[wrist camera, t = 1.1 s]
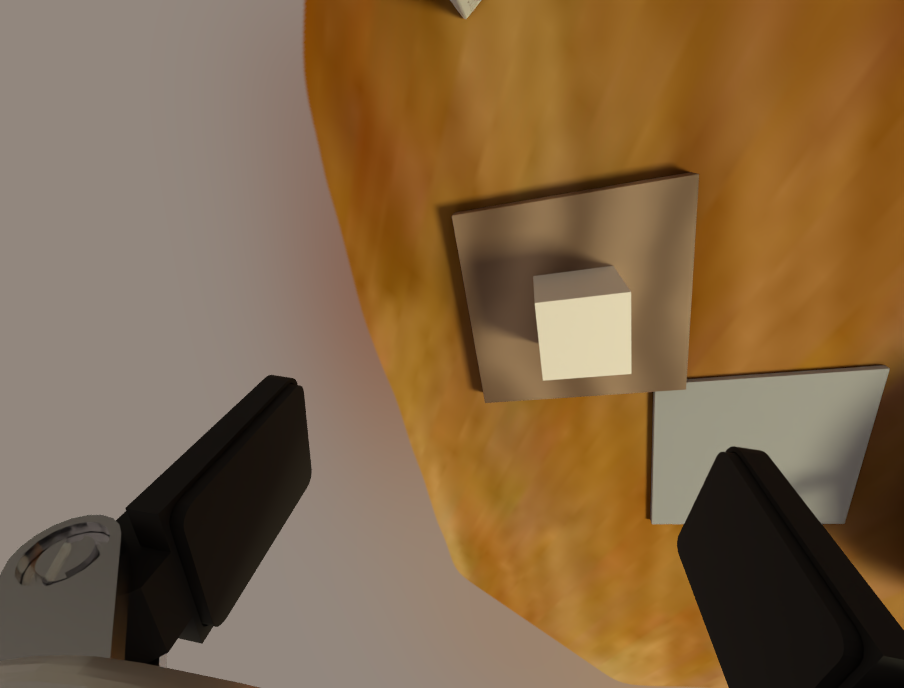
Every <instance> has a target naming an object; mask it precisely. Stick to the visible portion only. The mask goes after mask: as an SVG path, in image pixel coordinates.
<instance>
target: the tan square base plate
mask: <svg viewBox="0 0 904 688" xmlns="http://www.w3.org/2000/svg"><path fill="white" fill-rule="evenodd" d="M698 182H699V174H697V173H692V172H689V173H683V174H677V175H671V176H665V177H659V178H654V179H648V180H642V181H636V182H630V183H624V184H618V185H612V186H607V187H601V188H595V189H589V190H583V191H577V192H571V193H565V194H560V195H554V196H548V197H542V198H536V199H530V200H524V201H518V202H513V203H507V204H501V205H495V206H489V207H483V208H477V209H471V210H466V211H460V212H455V213H454V214H453V215H452V220H453V226H454V231H455V237H456V242H457V248H458V254H459V259H460V265H461V270H462V276H463V282H464V287H465V293H466V298H467V304H468V310H469V315H470V321H471V326H472V332H473V338H474V343H475V349H476V354H477V360H478V366H479V371H480V377H481V382H482V388H483V394H484V399H485V403H491V402H506V401H521V400H537V399H552V398H567V397H582V396H597V395H612V394H627V393H643V392H658V391H673V390H686V382H687V365H688V348H689V332H690V315H691V298H692V282H693V265H694V248H695V232H696V215H697V199H698ZM607 266H614V267H615V269H616V270H617V272H618V273H619V275H620V276H621V278H622V279H623V281H624V282H625V284H626V285H627V287H628V288H629V289H630V291H631V374H624V375H611V376H598V377H584V378H571V379H558V380H545V381H543V377H542V368H541V358H540V349H539V339H538V330H537V321H536V311H535V301H534V283H533V276H538V275H546V274H553V273H561V272H569V271H576V270H584V269H592V268H599V267H607Z"/></svg>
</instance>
